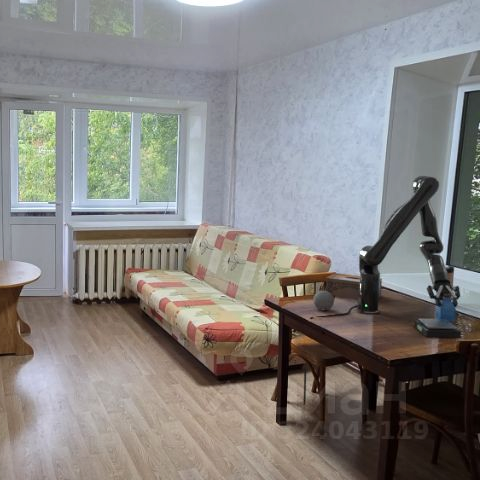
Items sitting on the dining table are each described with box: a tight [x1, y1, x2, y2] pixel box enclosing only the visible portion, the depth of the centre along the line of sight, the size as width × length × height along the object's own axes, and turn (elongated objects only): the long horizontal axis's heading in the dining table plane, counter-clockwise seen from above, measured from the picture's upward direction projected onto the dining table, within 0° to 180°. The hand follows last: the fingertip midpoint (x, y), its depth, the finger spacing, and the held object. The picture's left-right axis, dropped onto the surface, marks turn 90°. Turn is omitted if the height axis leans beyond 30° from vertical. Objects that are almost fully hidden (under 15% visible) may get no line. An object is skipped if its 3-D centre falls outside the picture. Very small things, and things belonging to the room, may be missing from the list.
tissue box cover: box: [325, 272, 383, 301], centre depth 292 cm, size 26×14×10 cm, turn 52°
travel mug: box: [439, 265, 455, 302], centre depth 272 cm, size 8×8×20 cm
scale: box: [414, 319, 462, 339], centre depth 232 cm, size 14×14×3 cm
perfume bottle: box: [435, 294, 457, 323], centre depth 243 cm, size 6×6×12 cm
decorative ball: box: [312, 290, 335, 311], centre depth 266 cm, size 10×10×10 cm
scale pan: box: [417, 318, 459, 329], centre depth 231 cm, size 12×12×1 cm
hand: (447, 306), depth 241 cm, fingers closed on perfume bottle, 6 cm apart
